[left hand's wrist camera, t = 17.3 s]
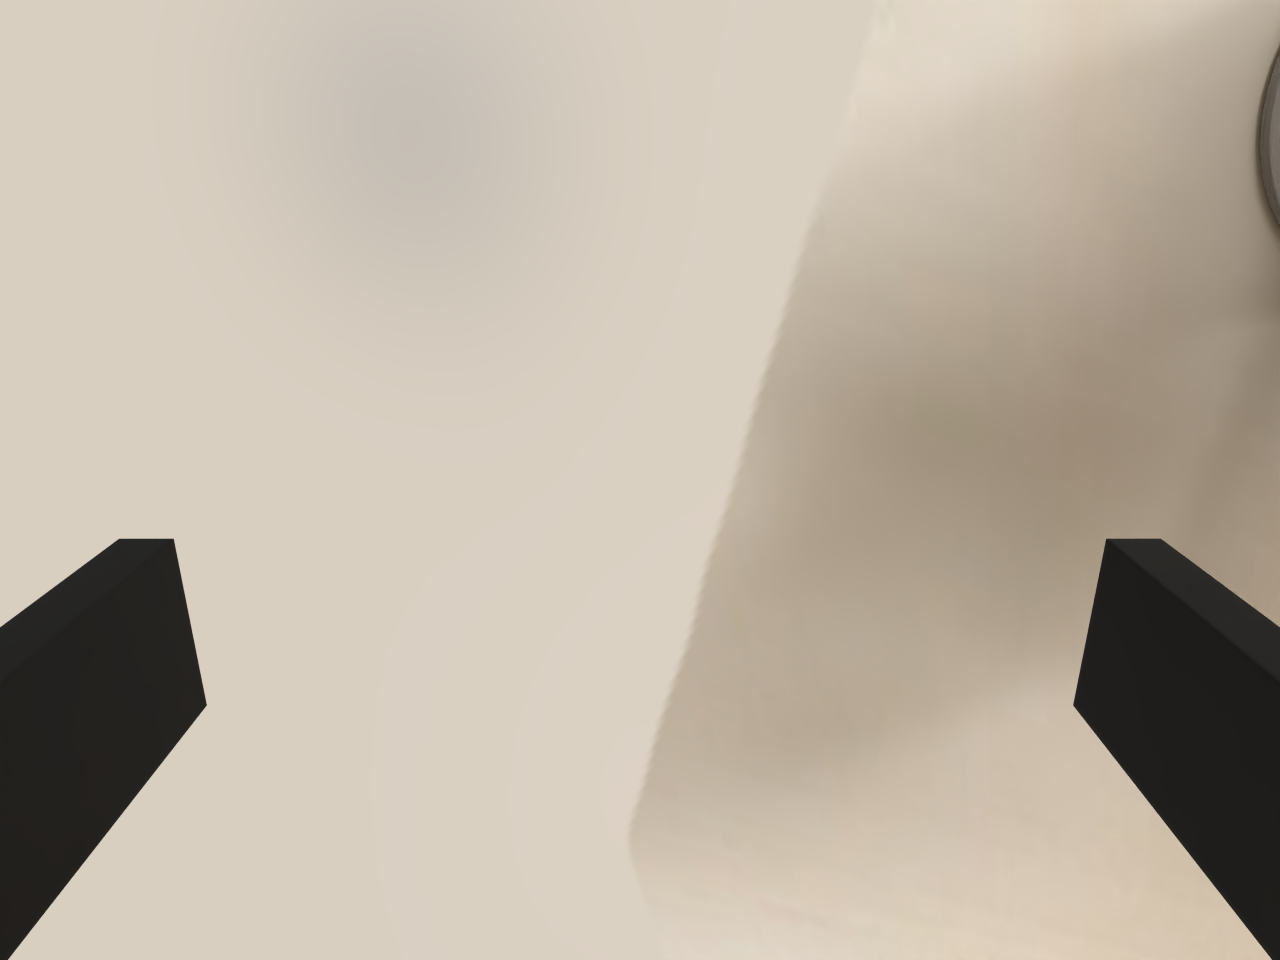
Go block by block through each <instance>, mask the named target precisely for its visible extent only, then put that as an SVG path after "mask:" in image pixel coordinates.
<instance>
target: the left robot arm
mask: <svg viewBox="0 0 1280 960" xmlns="http://www.w3.org/2000/svg"><path fill="white" fill-rule="evenodd" d="M1260 156H1261V170H1262V176H1263V181H1264V187H1265V191H1266V194H1267V198H1268V201H1269V204H1270V207H1271V209H1272V212H1273V214H1274V216H1275V219H1276V221H1277V223H1278V224H1279V226H1280V54H1279V57H1278V59H1277V62H1276V64H1275V67H1274V70H1273V73H1272V76H1271V80H1270V83H1269V86H1268V90H1267V94H1266V99H1265V104H1264V108H1263V115H1262V124H1261V136H1260ZM206 706H207V704H206V699H205V694H204V689H203V684H202V679H201V674H200V669H199V664H198V659H197V654H196V649H195V644H194V639H193V634H192V629H191V624H190V619H189V614H188V609H187V604H186V598H185V594H184V589H183V584H182V578H181V573H180V568H179V563H178V558H177V553H176V548H175V543H174V539H118V540H117V541H116V542H114V543H113V544H112V545H110V546H109V547H108V548H106V549H105V550H103V551H102V552H101V553H100V554H98V555H97V556H95V557H94V558H93V559H91V560H90V561H89V562H87V563H86V564H85V565H83V566H82V567H81V568H79V569H78V570H77V571H75V572H74V573H73V574H71V575H70V576H69V577H67V578H66V579H65V580H63V581H62V582H60V583H59V584H58V585H56V586H55V587H54V588H52V589H51V590H50V591H48V592H47V593H46V594H44V595H43V596H42V597H40V598H39V599H38V600H36V601H35V602H34V603H32V604H31V605H30V606H28V607H27V608H26V609H24V610H23V611H22V612H20V613H19V614H18V615H16V616H15V617H14V618H12V619H11V620H9V621H8V622H7V623H5V624H4V625H3V626H1V627H0V960H8V959H9V958H10V956H11V955H12V954H13V953H14V951H15V950H16V949H17V947H18V946H19V945H20V944H21V942H22V941H23V940H24V938H25V937H26V936H27V935H28V933H29V932H30V931H31V929H32V928H33V927H34V926H35V924H36V923H37V922H38V921H39V919H40V918H41V917H42V915H43V914H44V913H45V912H46V910H47V909H48V908H49V906H50V905H51V904H52V903H53V901H54V900H55V899H56V897H57V896H58V895H59V894H60V892H61V891H62V890H63V889H64V887H65V886H66V885H67V883H68V882H69V881H70V880H71V878H72V877H73V876H74V874H75V873H76V872H77V871H78V869H79V868H80V867H81V866H82V864H83V863H84V862H85V860H86V859H87V858H88V857H89V855H90V854H91V853H92V851H93V850H94V849H95V848H96V846H97V845H98V844H99V843H100V841H101V840H102V839H103V837H104V836H105V835H106V834H107V832H108V831H109V830H110V828H111V827H112V826H113V825H114V823H115V822H116V821H117V819H118V818H119V817H120V816H121V814H122V813H123V812H124V810H125V809H126V808H127V807H128V805H129V804H130V803H131V802H132V800H133V799H134V798H135V796H136V795H137V794H138V793H139V791H140V790H141V789H142V787H143V786H144V785H145V784H146V782H147V781H148V780H149V779H150V777H151V776H152V775H153V773H154V772H155V771H156V770H157V768H158V767H159V766H160V764H161V763H162V762H163V761H164V759H165V758H166V757H167V755H168V754H169V753H170V752H171V750H172V749H173V748H174V746H175V745H176V744H177V743H178V741H179V740H180V739H181V738H182V736H183V735H184V734H185V732H186V731H187V730H188V729H189V727H190V726H191V725H192V724H193V722H194V721H195V720H196V718H197V717H198V716H199V715H200V713H201V712H202V711H203V709H204V708H205V707H206ZM1073 706H1074V707H1075V708H1076V709H1077V711H1078V712H1079V713H1080V715H1081V716H1082V717H1083V718H1084V720H1085V721H1086V722H1087V724H1088V725H1089V726H1090V727H1091V729H1092V730H1093V731H1094V733H1095V734H1096V735H1097V736H1098V738H1099V739H1100V740H1101V741H1102V743H1103V744H1104V745H1105V747H1106V748H1107V749H1108V750H1109V752H1110V753H1111V754H1112V756H1113V757H1114V758H1115V759H1116V761H1117V762H1118V763H1119V764H1120V766H1121V767H1122V768H1123V770H1124V771H1125V772H1126V773H1127V775H1128V776H1129V777H1130V779H1131V780H1132V781H1133V782H1134V784H1135V785H1136V786H1137V788H1138V789H1139V790H1140V791H1141V793H1142V794H1143V795H1144V796H1145V798H1146V799H1147V800H1148V802H1149V803H1150V804H1151V805H1152V807H1153V808H1154V809H1155V811H1156V812H1157V813H1158V814H1159V816H1160V817H1161V818H1162V820H1163V821H1164V822H1165V823H1166V825H1167V826H1168V827H1169V828H1170V830H1171V831H1172V832H1173V834H1174V835H1175V836H1176V837H1177V839H1178V840H1179V841H1180V843H1181V844H1182V845H1183V846H1184V848H1185V849H1186V850H1187V851H1188V853H1189V854H1190V855H1191V857H1192V858H1193V859H1194V860H1195V862H1196V863H1197V864H1198V866H1199V867H1200V868H1201V869H1202V871H1203V872H1204V873H1205V875H1206V876H1207V877H1208V878H1209V880H1210V881H1211V882H1212V883H1213V885H1214V886H1215V887H1216V889H1217V890H1218V891H1219V892H1220V894H1221V895H1222V896H1223V898H1224V899H1225V900H1226V901H1227V903H1228V904H1229V905H1230V906H1231V908H1232V909H1233V910H1234V912H1235V913H1236V914H1237V915H1238V917H1239V918H1240V919H1241V921H1242V922H1243V923H1244V924H1245V926H1246V927H1247V928H1248V930H1249V931H1250V932H1251V933H1252V935H1253V936H1254V937H1255V938H1256V940H1257V941H1258V942H1259V944H1260V945H1261V946H1262V947H1263V949H1264V950H1265V951H1266V953H1267V954H1268V955H1269V956H1270V958H1271V959H1272V960H1280V627H1279V626H1277V625H1276V624H1275V623H1273V622H1272V621H1271V620H1269V619H1268V618H1267V617H1265V616H1264V615H1263V614H1261V613H1260V612H1258V611H1257V610H1256V609H1254V608H1253V607H1252V606H1250V605H1249V604H1248V603H1246V602H1245V601H1244V600H1242V599H1241V598H1240V597H1238V596H1237V595H1236V594H1234V593H1233V592H1232V591H1230V590H1229V589H1228V588H1226V587H1225V586H1224V585H1222V584H1221V583H1220V582H1218V581H1217V580H1215V579H1214V578H1213V577H1211V576H1210V575H1209V574H1207V573H1206V572H1205V571H1203V570H1202V569H1201V568H1199V567H1198V566H1197V565H1195V564H1194V563H1193V562H1191V561H1190V560H1189V559H1187V558H1186V557H1185V556H1183V555H1182V554H1181V553H1179V552H1178V551H1177V550H1175V549H1174V548H1172V547H1171V546H1170V545H1168V544H1167V543H1166V542H1164V541H1163V540H1162V539H1106V543H1105V548H1104V553H1103V558H1102V563H1101V568H1100V573H1099V578H1098V583H1097V588H1096V593H1095V598H1094V604H1093V609H1092V614H1091V619H1090V624H1089V629H1088V634H1087V639H1086V644H1085V649H1084V654H1083V659H1082V664H1081V669H1080V674H1079V679H1078V684H1077V689H1076V694H1075V699H1074V704H1073Z"/></svg>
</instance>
